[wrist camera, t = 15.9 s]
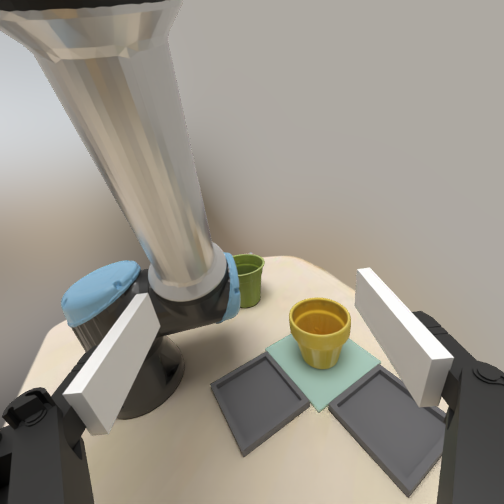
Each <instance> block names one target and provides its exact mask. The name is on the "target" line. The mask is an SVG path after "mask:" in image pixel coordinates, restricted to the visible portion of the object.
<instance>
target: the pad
mask: <svg viewBox="0 0 504 504" xmlns="http://www.w3.org/2000/svg"><path fill="white" fill-rule="evenodd" d="M265 350H266V351H267V352H268V353H269V354H270V355H271V356H272V358H273V359H274V360H275V361H276V362H277V363H278V365H279V366H280V367H281V368H282V369H283V370H284V372H285V373H286V374H287V375H288V376H289V377H290V378H291V380H292V381H293V382H294V383H295V384H296V385H297V387H298V388H299V389H300V390H301V391H302V392H303V394H304V395H305V396H306V397H307V398H308V399H309V401H310V403H311V404H312V405H313V406H314V408H315V409H316V410H317V411H318V412H321V411H322V410H323V409H324V408H326V407H327V406H328V405H329V403H330V402H331V401H333V400H334V399H335V398H336V397H338V396H339V395H340V394H341V393H343V392H344V391H345V390H346V389H348V388H349V387H350V386H351V385H353V384H354V383H355V382H356V381H358V380H359V379H360V378H361V377H363V376H364V375H365V374H367V373H368V372H369V371H370V370H372V369H373V368H374V367H375V366H377V365H378V364H381V361H379V360H378V359H377V358H375V357H374V356H373V355H371V354H370V353H368V352H367V351H366V350H364V349H363V348H361V347H360V346H359V345H357V344H356V343H355V342H353V341H352V340H350V339H349V338H348V340H347V341H346V343H345V344H343V346H342V349H341V352H340V355H339V358H338V361H337V363H336V364H335V365H334V366H333V367H331V368H329V369H316V368H313V367H311V366H310V365H308V364H307V363H306V362H305V360H304V359H303V357H302V354H301V351H300V348H299V346H298V343H297V341H296V340H295V339H294V337H293V336H292V334H290V335H288V336H286V337H285V338H283V339H281V340H279V341H278V342H276V343H274V344H273V345H271V346H269V347H267V348H266V349H265Z"/></svg>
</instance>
